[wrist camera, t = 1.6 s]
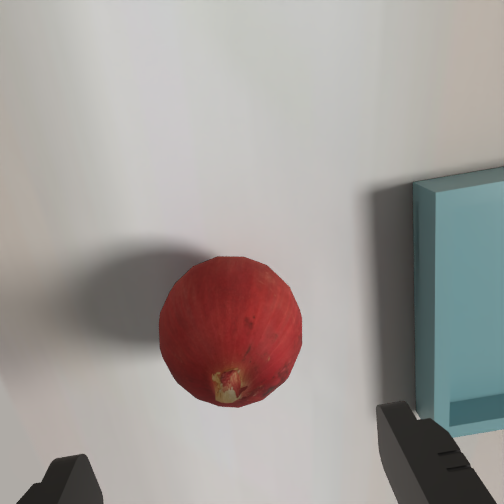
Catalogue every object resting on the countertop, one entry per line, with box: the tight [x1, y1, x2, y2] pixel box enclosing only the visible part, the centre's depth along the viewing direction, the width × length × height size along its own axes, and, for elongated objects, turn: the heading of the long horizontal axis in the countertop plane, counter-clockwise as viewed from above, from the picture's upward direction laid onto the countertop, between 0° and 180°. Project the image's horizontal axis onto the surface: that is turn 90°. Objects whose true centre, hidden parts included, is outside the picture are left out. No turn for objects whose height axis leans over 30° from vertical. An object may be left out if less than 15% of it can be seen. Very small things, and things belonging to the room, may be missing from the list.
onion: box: [159, 257, 302, 408], centre depth 16 cm, size 6×6×8 cm
